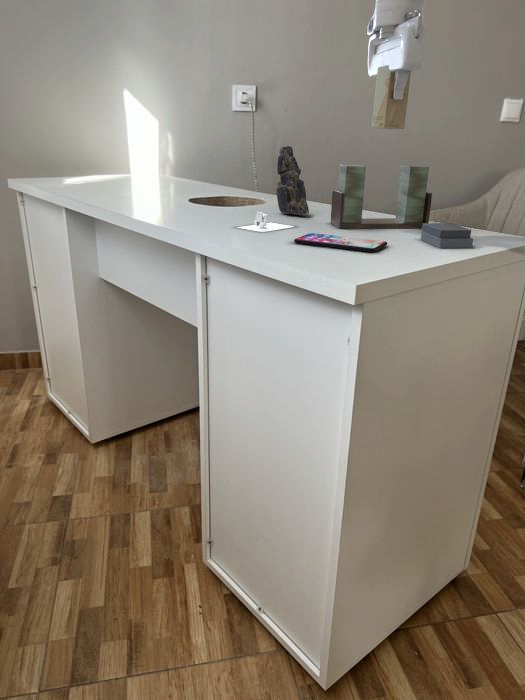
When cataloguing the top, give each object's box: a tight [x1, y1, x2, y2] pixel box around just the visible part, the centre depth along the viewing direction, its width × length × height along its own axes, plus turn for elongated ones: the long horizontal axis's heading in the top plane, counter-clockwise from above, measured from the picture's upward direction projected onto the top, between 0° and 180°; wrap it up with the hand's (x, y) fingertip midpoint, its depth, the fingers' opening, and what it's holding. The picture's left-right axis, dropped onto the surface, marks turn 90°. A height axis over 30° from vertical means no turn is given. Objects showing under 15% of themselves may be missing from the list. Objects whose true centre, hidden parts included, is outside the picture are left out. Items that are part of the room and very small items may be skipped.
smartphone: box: [293, 232, 388, 253], centre depth 96 cm, size 8×1×15 cm
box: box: [371, 65, 412, 130], centre depth 107 cm, size 5×4×11 cm
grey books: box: [420, 222, 474, 249], centre depth 99 cm, size 6×8×3 cm
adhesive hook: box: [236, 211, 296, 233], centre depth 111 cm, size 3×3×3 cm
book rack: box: [330, 164, 433, 230], centre depth 115 cm, size 19×7×12 cm, turn 98°
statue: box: [275, 145, 310, 216], centre depth 128 cm, size 6×12×15 cm, turn 28°
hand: (390, 100), depth 108 cm, fingers closed on box, 5 cm apart
